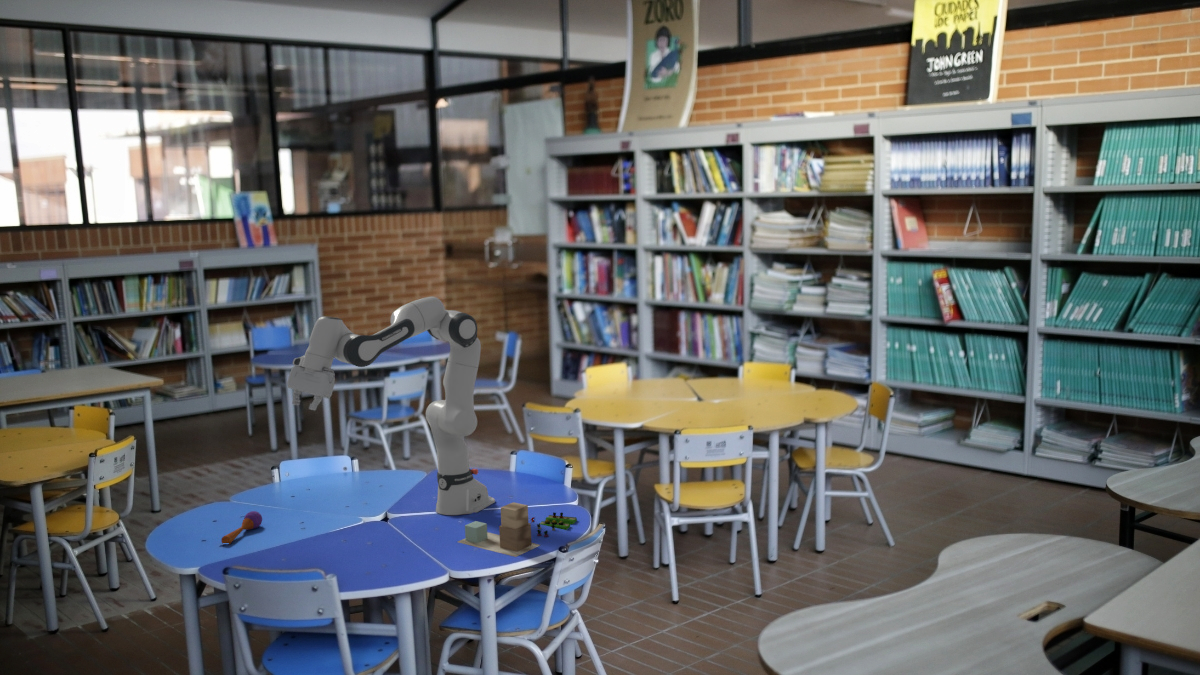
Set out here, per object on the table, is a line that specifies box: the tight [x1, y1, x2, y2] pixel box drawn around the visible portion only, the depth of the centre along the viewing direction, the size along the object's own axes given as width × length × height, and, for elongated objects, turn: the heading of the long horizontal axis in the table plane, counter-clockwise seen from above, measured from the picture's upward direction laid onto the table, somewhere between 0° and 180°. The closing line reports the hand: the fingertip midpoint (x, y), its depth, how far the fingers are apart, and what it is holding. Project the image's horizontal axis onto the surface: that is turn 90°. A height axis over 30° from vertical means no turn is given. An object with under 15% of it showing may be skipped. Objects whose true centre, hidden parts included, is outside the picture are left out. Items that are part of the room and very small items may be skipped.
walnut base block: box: [498, 522, 533, 552], centre depth 306 cm, size 7×7×7 cm
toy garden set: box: [530, 511, 578, 538], centre depth 326 cm, size 23×19×5 cm
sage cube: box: [464, 520, 488, 543], centre depth 314 cm, size 5×5×5 cm
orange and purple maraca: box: [221, 510, 263, 545], centre depth 330 cm, size 6×6×20 cm
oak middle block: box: [500, 502, 530, 529], centre depth 305 cm, size 6×6×6 cm
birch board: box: [457, 531, 541, 558], centre depth 310 cm, size 12×25×2 cm, turn 54°
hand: (303, 407), depth 307 cm, fingers open, 8 cm apart
